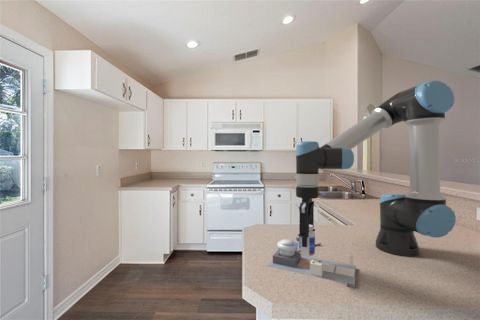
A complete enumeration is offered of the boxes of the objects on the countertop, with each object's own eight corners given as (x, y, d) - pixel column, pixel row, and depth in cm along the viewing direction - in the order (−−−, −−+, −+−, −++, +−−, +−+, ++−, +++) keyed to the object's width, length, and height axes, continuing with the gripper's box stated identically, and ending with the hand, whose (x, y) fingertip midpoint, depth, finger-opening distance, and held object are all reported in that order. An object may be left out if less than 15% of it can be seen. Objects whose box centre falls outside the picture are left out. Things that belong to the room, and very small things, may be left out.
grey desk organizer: (355, 268, 80) (355, 254, 80) (354, 288, 68) (354, 271, 68) (279, 254, 93) (279, 242, 93) (267, 268, 80) (267, 255, 80)
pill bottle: (301, 256, 78) (301, 227, 78) (296, 250, 84) (296, 223, 84) (317, 256, 79) (317, 227, 79) (311, 250, 84) (311, 223, 84)
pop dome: (299, 254, 86) (299, 240, 86) (294, 261, 80) (294, 246, 80) (280, 251, 89) (280, 237, 89) (274, 257, 83) (274, 242, 83)
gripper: (302, 183, 91) (301, 242, 91) (289, 187, 75) (289, 260, 75) (322, 184, 88) (321, 246, 88) (313, 189, 72) (313, 265, 71)
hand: (306, 252), depth 81 cm, fingers closed on pill bottle, 5 cm apart
